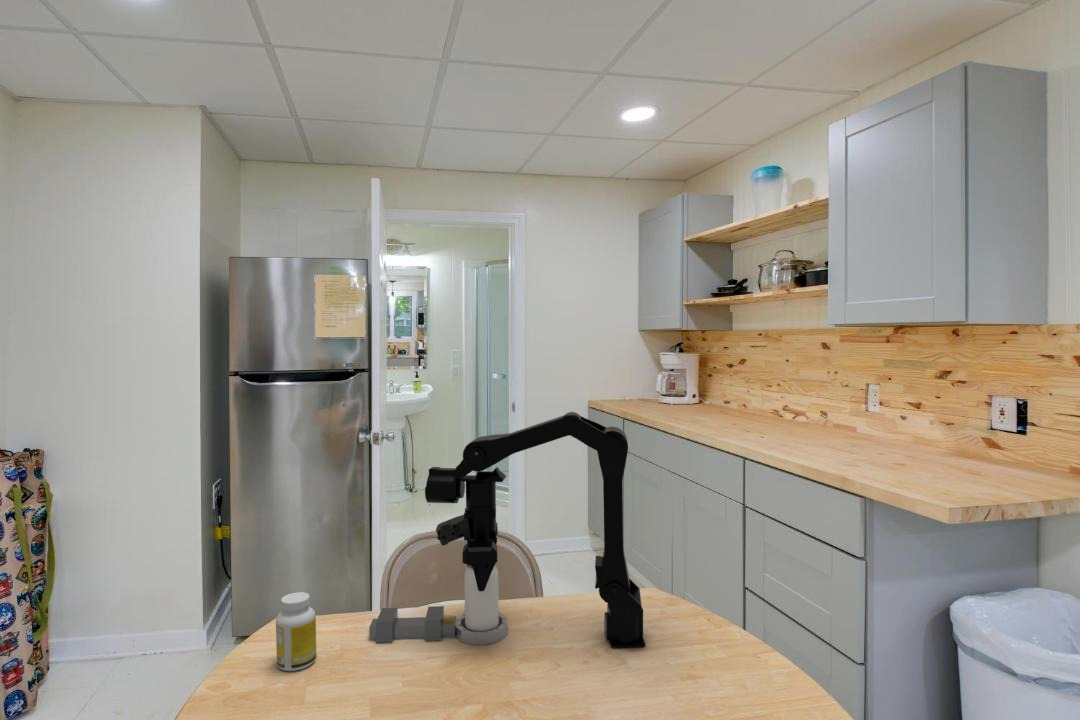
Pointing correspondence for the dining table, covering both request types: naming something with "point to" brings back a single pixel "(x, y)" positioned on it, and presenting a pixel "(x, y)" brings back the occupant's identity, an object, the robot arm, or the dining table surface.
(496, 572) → the can
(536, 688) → the dining table surface
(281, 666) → the pill bottle
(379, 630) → the shaft seat
